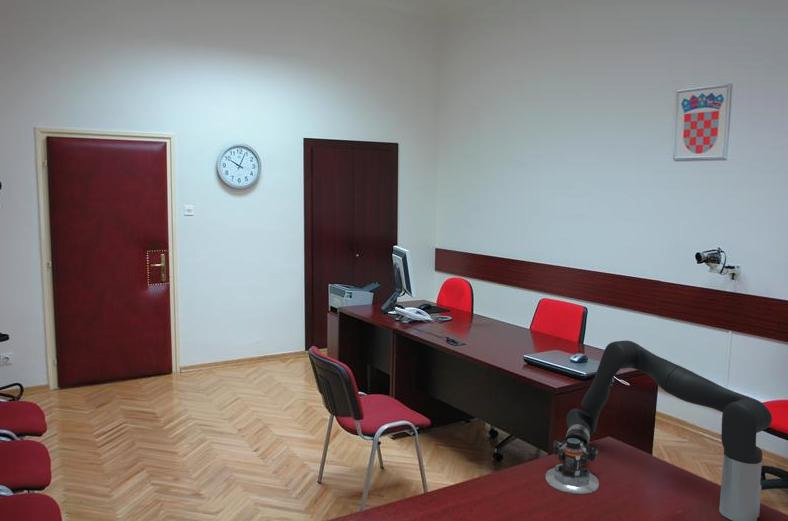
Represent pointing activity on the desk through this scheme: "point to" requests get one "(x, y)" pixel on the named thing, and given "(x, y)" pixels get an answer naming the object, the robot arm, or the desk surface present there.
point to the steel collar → (572, 481)
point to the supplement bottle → (572, 458)
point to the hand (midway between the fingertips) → (572, 459)
